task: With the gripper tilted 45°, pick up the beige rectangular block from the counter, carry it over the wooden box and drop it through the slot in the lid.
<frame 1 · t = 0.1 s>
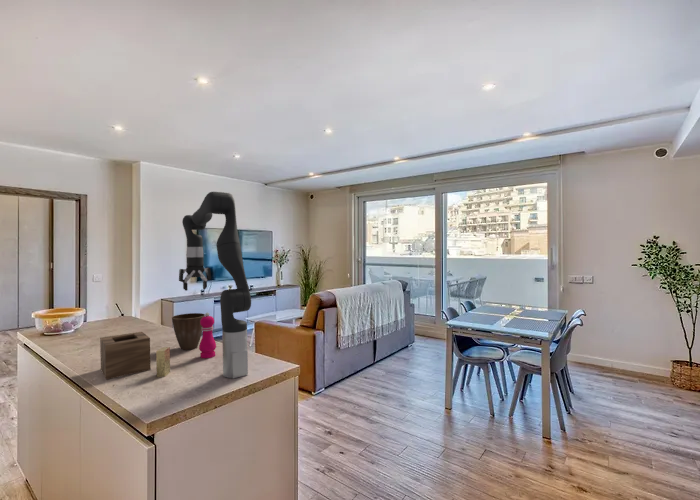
hand: (195, 289, 169), 29 cm above the countertop, tool pointing down, fingers open, 8 cm apart
pepper mill: (207, 356, 159), on the countertop
plant pot: (189, 348, 172), on the countertop
wooden box: (125, 369, 142), on the countertop
beige rectangular block: (163, 374, 136), on the countertop
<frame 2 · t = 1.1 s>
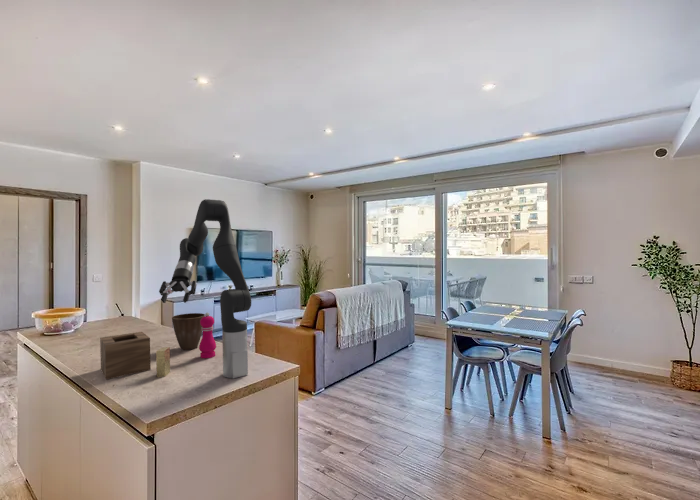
hand: (174, 301, 148), 27 cm above the countertop, tool tilted 45°, fingers open, 8 cm apart
nothing on the countertop moved.
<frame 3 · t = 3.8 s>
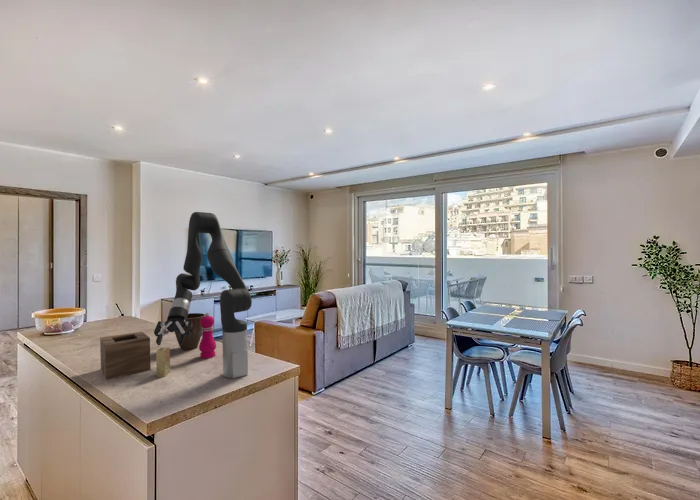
hand: (169, 343, 142), 10 cm above the countertop, tool tilted 45°, fingers open, 8 cm apart
nothing on the countertop moved.
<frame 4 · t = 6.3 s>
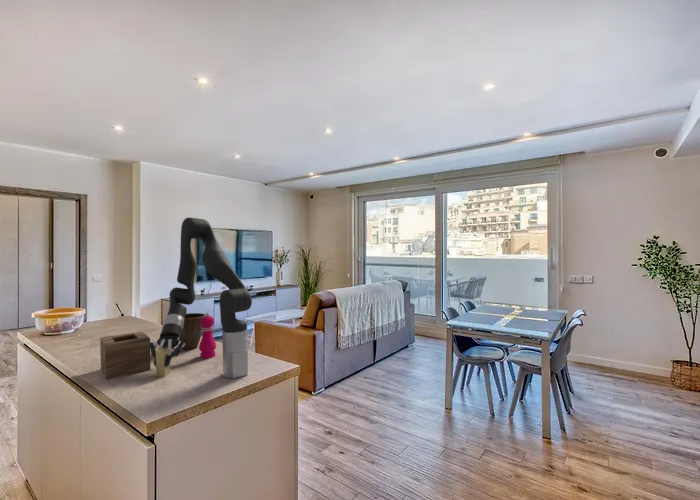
hand: (161, 366, 134), 4 cm above the countertop, tool tilted 45°, fingers closed on beige rectangular block, 3 cm apart
beige rectangular block: (163, 374, 136), on the countertop, touching gripper
everything else where it was.
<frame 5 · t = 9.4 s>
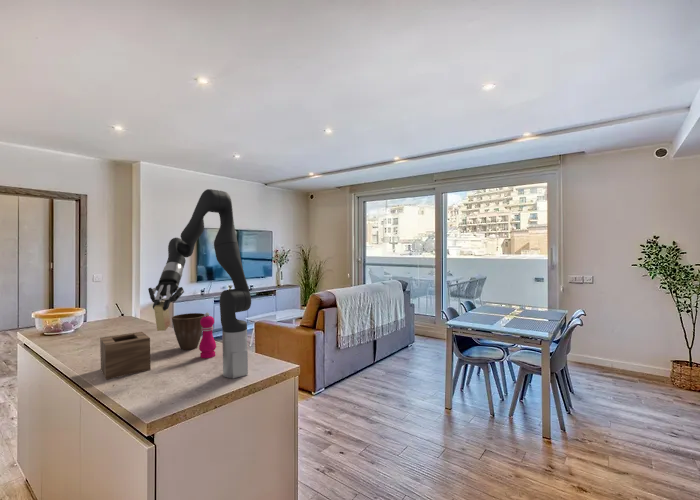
hand: (159, 309, 134), 26 cm above the countertop, tool tilted 45°, fingers closed on beige rectangular block, 2 cm apart
beige rectangular block: (163, 327, 138), point 18 cm above the countertop, tilted 15°, touching gripper
everything else where it was.
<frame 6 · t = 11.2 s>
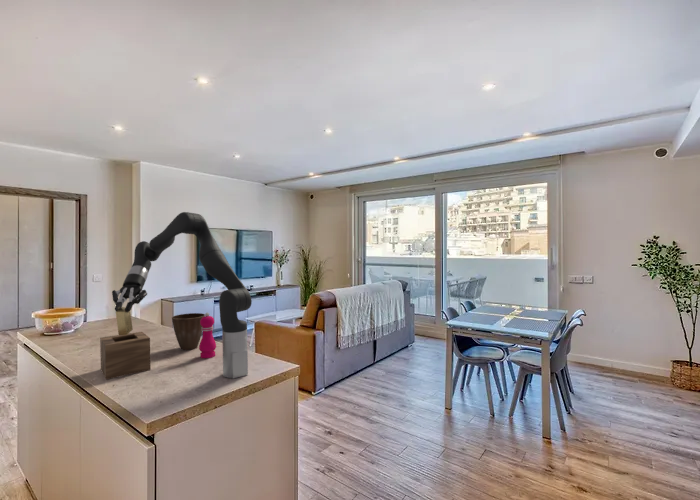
hand: (121, 311, 140), 24 cm above the countertop, tool tilted 45°, fingers closed on beige rectangular block, 3 cm apart
beige rectangular block: (125, 332, 143), point 15 cm above the countertop, tilted 12°, touching gripper
everything else where it was.
when the fingers open (19 cm above the countertop, at t = 12.4 s): beige rectangular block drops 10 cm, resting in wooden box.
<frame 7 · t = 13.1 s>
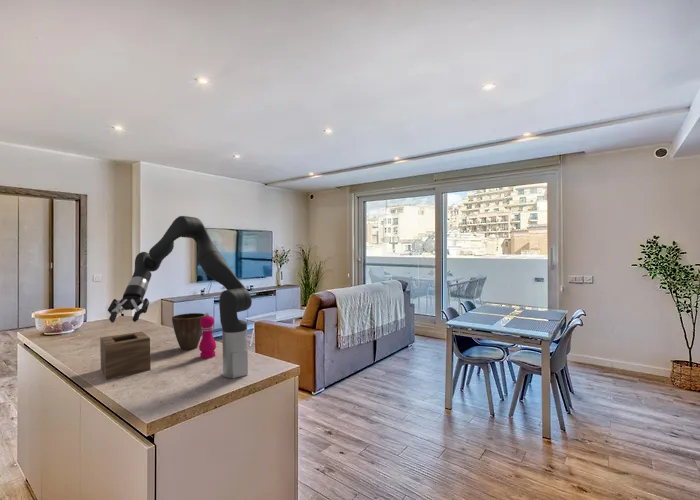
hand: (122, 321, 141), 20 cm above the countertop, tool tilted 45°, fingers open, 8 cm apart
beige rectangular block: (125, 368, 143), resting in wooden box, tilted 15°
everything else where it was.
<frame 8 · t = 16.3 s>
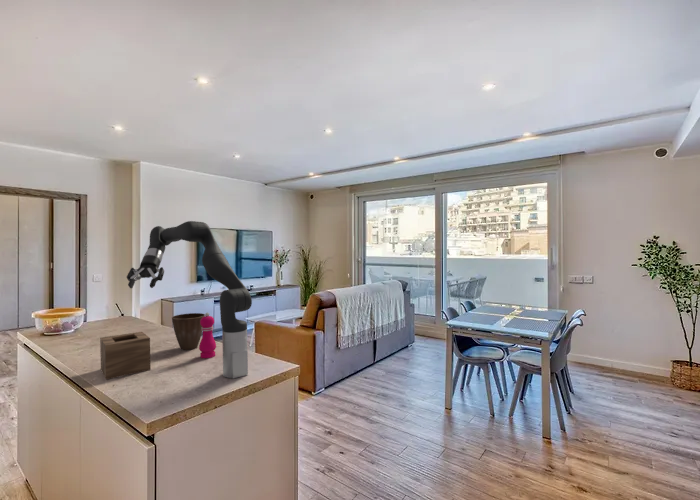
hand: (140, 287, 152), 33 cm above the countertop, tool tilted 45°, fingers open, 8 cm apart
beige rectangular block: (125, 369, 143), resting in wooden box
everything else where it was.
at the end: beige rectangular block inside the target area on the wooden box (0.5 cm from its centre), point 0.0 cm above the wooden box's base; the gripper is holding nothing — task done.
